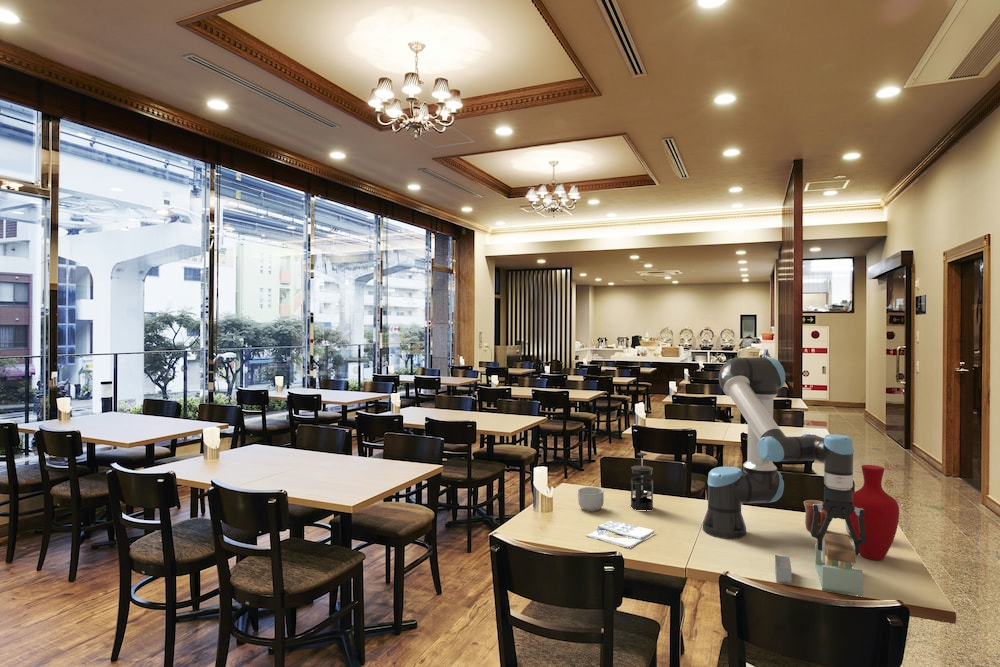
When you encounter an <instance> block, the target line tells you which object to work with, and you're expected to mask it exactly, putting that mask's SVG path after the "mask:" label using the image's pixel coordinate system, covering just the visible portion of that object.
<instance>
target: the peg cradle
mask: <svg viewBox="0 0 1000 667" xmlns="http://www.w3.org/2000/svg"><path fill="white" fill-rule="evenodd" d="M814 548H815V551H814V552H815V554H814V556H815V558H814V559H815V560H814V562H815V563H814V565H815V569H816V573H817V576H818V580H819V584H820V587H822V588H821V591H822V592H828V593H833V592H835V594H840V593H843V594H842V595H846V594H848V596H853V595H858V596H857V597H859V596H864V595H863V591H864V590H863V586H864V585H863V584H864V583H863V582H864V579H863V577H864V575H863V574H864V572H863V570H862V569H857V568H853V567H852V566H851V563H849V562H842V561H835V560H828V559H827V556H826V553H825V563H822V560H821V550H818V547H817V542H816V543H815V545H814Z"/></svg>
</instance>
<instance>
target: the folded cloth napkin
mask: <svg viewBox="0 0 1000 667" xmlns="http://www.w3.org/2000/svg"><path fill="white" fill-rule="evenodd" d="M602 530H606V531H609V532H612V533H616V534H615V535H618V534H620V535H619V536H622V535H623V536H622V537H624V536H628V537H632V538H635V539H628V538H614V537H609V536H607V535H606V534H608V533H606V531H602ZM655 533H656V532H655V530H654V529H650V528H647V527H643V526H638V525H633V524H628V523H623V522H619V521H615V520H609V521H607V522H605V523H602V524H600V525H597V529H596V530H595V531H593V532H591V533H588V534H586V535H585V537H586V536H587V538H590V537H592V538H591V539H594V538H597V539H601V540H605V541H609V542H612V543H615V544H619V545H622V546H624V547H628V548H627V549H629V548H630V547H632V546H633V547H635V546H636V545H635V544H637V543H639V542H641V541H643V540H645V539H646V538H648V537H649V536H650V535H651V534H655ZM597 539H596V540H597ZM648 539H649V538H648ZM601 540H600V541H601ZM646 540H647V539H646ZM646 540H645V541H646ZM643 542H644V541H643ZM641 543H642V542H641ZM615 544H614V545H615ZM639 544H640V543H639ZM619 545H618V546H619ZM634 545H635V546H634ZM637 545H638V544H637ZM624 547H623V548H624ZM633 547H632V548H633ZM630 549H631V548H630Z"/></svg>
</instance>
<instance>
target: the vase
mask: <svg viewBox="0 0 1000 667" xmlns="http://www.w3.org/2000/svg"><path fill="white" fill-rule="evenodd" d="M861 470H862V475H863V485H862V487H860V488H859V489H858V490H856V491H853V505H854V507H857V508H863V509H864V511H865V515H864V518H863V519H864V526H865V534H866V543H865V544H864V543H862V544H860V545H859V555H860V556H861V557H862V558H865V559H868V560H872V561H873V560H874V561H882V560H884V559H885V558H886V556H887V554H888V552H889V551H890V548H891V547H892V544H893V543H894V540H895V537H896V534H897V530H898V526H899V519H900V507H899V502H897V499H895V498H894V497H892V496H890V494H888V493H887V492H885V490H884V488H883V486H882V482H883V476H884V472H885V468H884V467H883V466H879V465H875V464H862V465H861ZM849 518H850V521H851V523H852V526H853V528H854V531H855V533H856V536H857V538H860V532H859V524H858V516H857V515H856V513H855V511H853V512H852V513H851V514H850V516H849Z"/></svg>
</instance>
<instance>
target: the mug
mask: <svg viewBox="0 0 1000 667" xmlns="http://www.w3.org/2000/svg"><path fill="white" fill-rule="evenodd" d="M822 502H823V501H821V500H817V499H816V500H814V499H807V500H804V501H803V505H804V509H805V520H804V521H805V522H804V523H805V524H804V525H805V529H806V530H807V531H808V532H810V533H811V527H812V521H813V514H814V509H813V503H816V504H822ZM826 514H827V512H826V510H825V509H824V508H821V511H820V512H819V519H818V525H817V532H816V533H819V530H820V528H821V526H822V524H823V522H824V520H825V517H826ZM827 532H828V530H827V531H826V533H827Z"/></svg>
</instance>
